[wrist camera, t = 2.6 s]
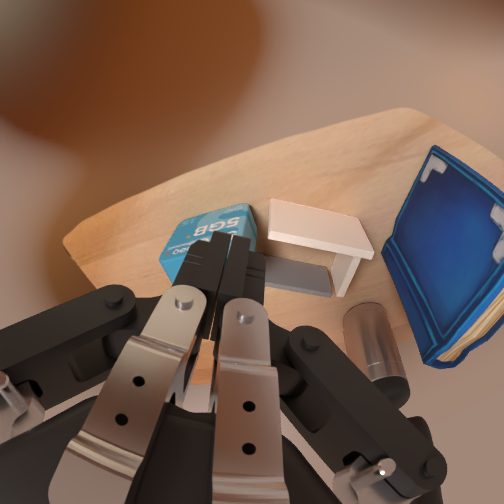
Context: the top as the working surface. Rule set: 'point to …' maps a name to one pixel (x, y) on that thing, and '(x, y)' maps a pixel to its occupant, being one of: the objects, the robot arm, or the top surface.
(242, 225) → the data package
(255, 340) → the robot arm
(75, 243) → the top surface
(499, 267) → the book
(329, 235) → the shelf nook
